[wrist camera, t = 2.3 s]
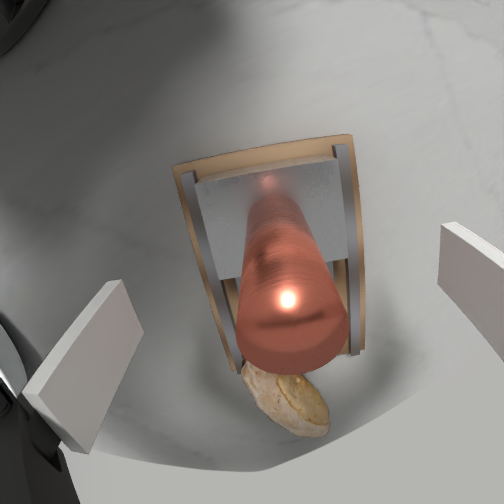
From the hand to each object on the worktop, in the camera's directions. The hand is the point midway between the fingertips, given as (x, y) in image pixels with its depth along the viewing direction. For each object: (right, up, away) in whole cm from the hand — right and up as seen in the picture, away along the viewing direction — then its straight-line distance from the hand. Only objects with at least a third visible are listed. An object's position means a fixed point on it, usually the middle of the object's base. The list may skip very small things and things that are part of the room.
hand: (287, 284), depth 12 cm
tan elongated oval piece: (+4, -13, +19) cm, 23 cm away
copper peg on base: (0, +3, +9) cm, 10 cm away
